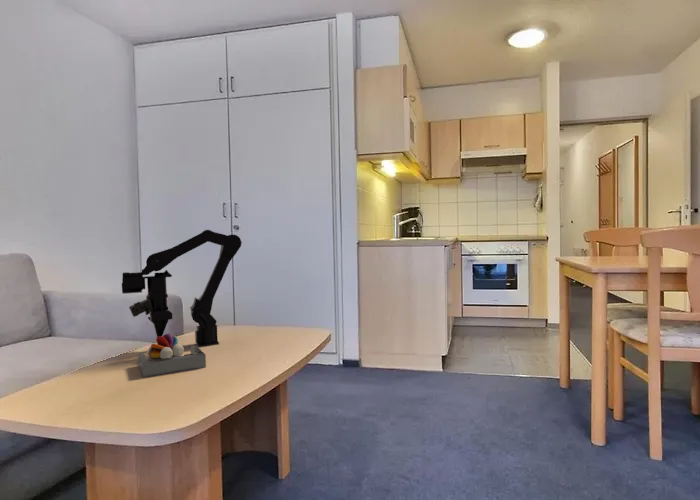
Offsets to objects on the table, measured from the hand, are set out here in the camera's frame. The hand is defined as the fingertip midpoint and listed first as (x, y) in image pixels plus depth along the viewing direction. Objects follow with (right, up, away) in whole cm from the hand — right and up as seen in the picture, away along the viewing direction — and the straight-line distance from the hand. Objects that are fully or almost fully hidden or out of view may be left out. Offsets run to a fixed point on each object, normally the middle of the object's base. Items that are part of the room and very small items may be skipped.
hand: (159, 338), depth 151 cm
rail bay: (+13, -4, -22) cm, 25 cm away
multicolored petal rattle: (+7, -4, -11) cm, 14 cm away
